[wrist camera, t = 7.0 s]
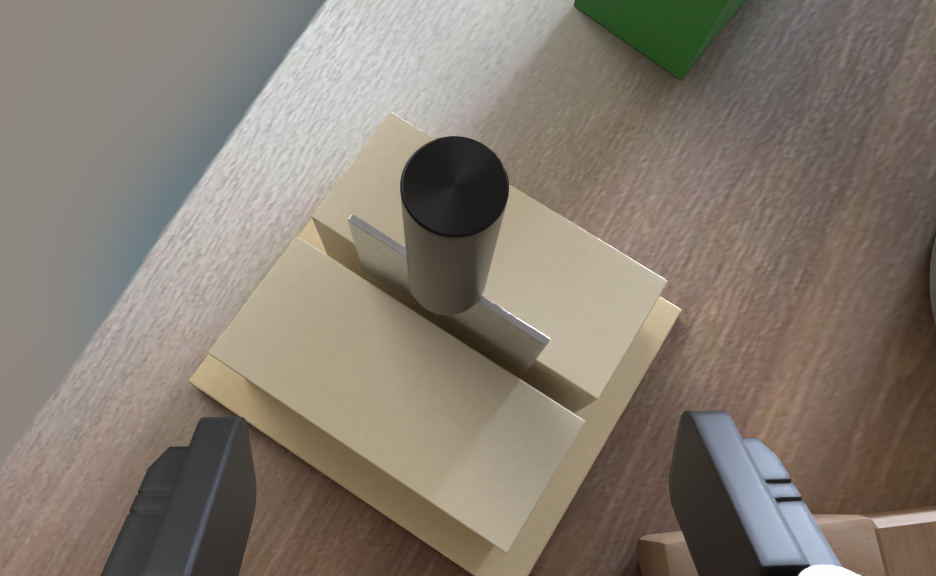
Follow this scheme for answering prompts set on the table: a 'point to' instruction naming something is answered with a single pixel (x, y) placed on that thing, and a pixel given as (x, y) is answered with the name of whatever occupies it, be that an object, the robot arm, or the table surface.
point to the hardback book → (664, 26)
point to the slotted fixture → (442, 369)
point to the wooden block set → (850, 536)
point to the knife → (451, 245)
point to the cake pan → (933, 281)
